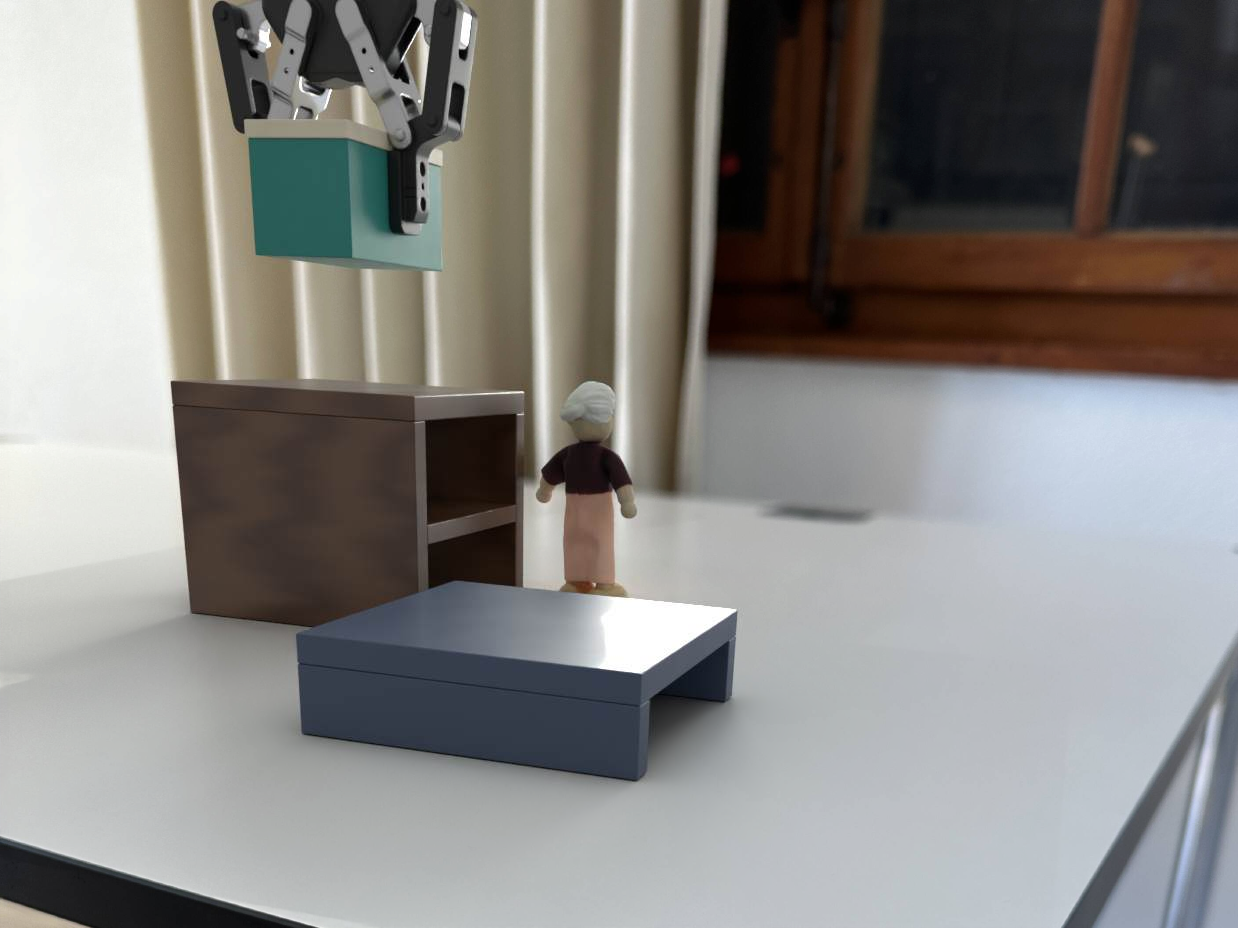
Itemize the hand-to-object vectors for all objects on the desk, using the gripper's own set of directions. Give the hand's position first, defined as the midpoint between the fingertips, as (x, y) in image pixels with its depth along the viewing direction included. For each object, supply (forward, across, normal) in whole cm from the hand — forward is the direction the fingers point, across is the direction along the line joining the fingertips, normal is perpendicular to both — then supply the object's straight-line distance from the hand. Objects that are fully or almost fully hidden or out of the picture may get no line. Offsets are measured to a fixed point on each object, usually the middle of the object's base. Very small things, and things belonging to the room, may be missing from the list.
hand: (351, 231), depth 69 cm
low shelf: (+20, -18, +18) cm, 32 cm away
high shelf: (+20, 0, 0) cm, 20 cm away
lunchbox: (+2, 0, 0) cm, 2 cm away
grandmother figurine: (+20, -10, -10) cm, 24 cm away
